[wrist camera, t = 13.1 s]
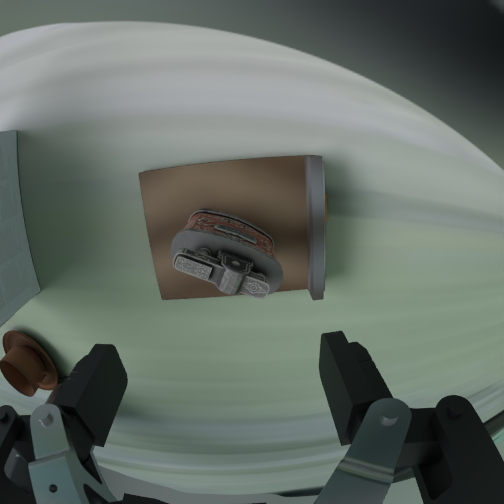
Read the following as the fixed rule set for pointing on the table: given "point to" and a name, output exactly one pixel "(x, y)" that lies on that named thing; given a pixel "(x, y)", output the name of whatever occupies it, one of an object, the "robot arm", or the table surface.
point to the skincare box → (13, 236)
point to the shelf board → (242, 215)
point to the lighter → (227, 254)
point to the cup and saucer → (27, 364)
